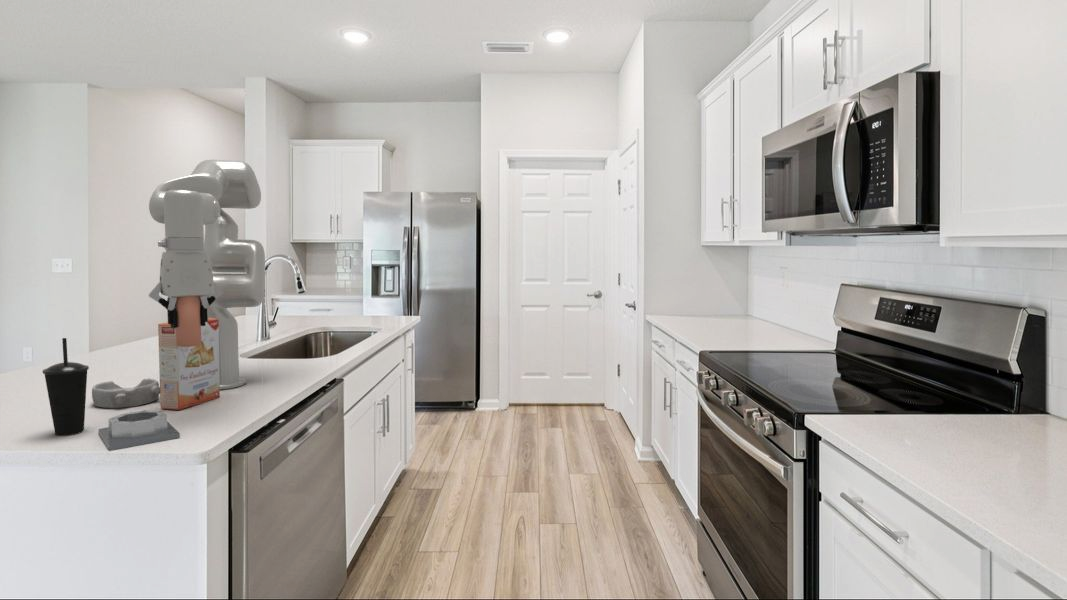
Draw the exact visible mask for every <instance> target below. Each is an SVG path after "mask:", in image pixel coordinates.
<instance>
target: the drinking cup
mask: <svg viewBox="0 0 1067 600" xmlns="http://www.w3.org/2000/svg"><path fill="white" fill-rule="evenodd" d="M61 340H62V357H63V362H58V363H56V364H53V365H51V366H48V367H47V368H44V369H43V370H42V374H43V375H44V379H45V383H46V390H47V396H48V400H49V407H50V412H51V418H52V423H53V430H54V434H55V436H57V437H58V436H60V437H62V436H63V437H64V436H65V437H66V436H71V435H72V434H73V435H77V434H80V433H83V432H84V431H85V421H86V420H85V419H86V418H85V417H86V399H87V396H86V395H87V384H88V383H87V380H88V370H89V369H90V367H89V365H86V364H82V363H79V362H74V361H68V344H67V341H68V340H67V337H62V339H61ZM83 430H84V431H83ZM82 431H83V432H82ZM79 432H80V433H79ZM76 433H77V434H76Z"/></svg>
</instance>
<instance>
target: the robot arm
mask: <svg viewBox="0 0 1067 600" xmlns="http://www.w3.org/2000/svg"><path fill="white" fill-rule="evenodd" d="M261 201H262V191H261V187H260V184H259V181H258V179H257V176H256V174H255V171H254V170H253V168H252V167H251V165H250V164H249V163H248V162H245V161H243V160H227V159H226V160H225V159H206V160H203V161H201V162H199V163H198V164H197V165H196V166H195V168H193V171H192V172H191V173H190V175H184V176H181V177H178V178H175V179H171V180H168V181H165V182H164V181H163V182H162V183H160V184H158V186H157V187H156V188H155V189H154V191H153V192H152V194H151V197H150V199H149V201H148V202H149V203H148V211H149V214H150V216H151V218H152V219H153V220H154V221H155V222H157V223H158V224H162V225H164V238H163V239H161V240H158V241H157V246H158V247H161V248H164V250H165V251H164V252H163V251H162V254H161V257H160V258H161V259H160V267H159V282H158V283H157V284H156V285H155V287H154V288H153V289H152V290H151V291H150V292H149V293H148V297H149V298H150V299H151V300H153V301H155V302H157V303H159V304H160V305H161V306H162V307H164V308H165V309H166V310H167V311H166V312H167V323H168V324H171V327H172V328H177V327H178V324H177V311H176V310H175V303H176V300H177V297H188V296H200V315H201V326H205V322H207V321H208V318H214V319H218V320H219V379H220V391H221V390H228V389H234V388H238V387H241V386H243V385H245V384H246V379H245V378H244V377H241V376H240V363H239V362H240V360H239V357H240V356H239V333H238V332H239V331H238V330H239V328H238V327H239V326H238V325H239V324H238V321H237V319H236V318H235V316H234V315H233V314H232V313H231V312H230V311H229V310H228V309H230V308H231V309H232V308H256V307H259V306H261V305H262V303H263V301H264V298H265V297H264V296H265V280H266V279H265V276H266V275H265V274H266V255H265V249H264V247H263V245H262V243H261V242H260V241H257V240H255V239H239V226H238V224H237V222H236V221H235V220H234V219H233V218H232V216H231V215H229V213H228V212H226V211H224V209H242V210H243V209H246V210H247V209H248V210H251V209H255V208H257V207H259V205H260V204H261ZM204 226H205V228H204ZM204 229H205V231H204ZM159 294H161V295H162V296H166V297H167V299H165V298H164V297H162V296H161V295H159Z"/></svg>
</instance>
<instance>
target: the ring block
mask: <svg viewBox="0 0 1067 600" xmlns="http://www.w3.org/2000/svg"><path fill="white" fill-rule="evenodd" d="M97 431H98V435H99V437H100V438H101V440H102V442H103V443H104V444H105V446H106V448H107V449H108V451H114V450H120V449H125V448H131V447H136V446H142V445H143V446H144V445H148V444H152V443H153V444H155V443H157V442H164V441H170V440H174V439H180V438H181V433H180V432H179V431H178V430H177V429H176V428H175V427H174V426H173V425H172V424H171V423H170V422H169V421H168V414H167V413H166V412H165V411H163V410H146V409H145V410H139V411H133V412H132V411H131V412H125V413H121V414H119V415H116V416H113V417H110V418H108V427H103V428H102V427H101V428H98V430H97Z"/></svg>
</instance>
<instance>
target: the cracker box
mask: <svg viewBox="0 0 1067 600" xmlns="http://www.w3.org/2000/svg"><path fill="white" fill-rule="evenodd" d="M157 325H158V327H157V328H158V330H157V332H158V361H159V362H158V363H159V364H158V365H159V367H158V368H159V387H160V394H159V403H160V409H164V410H174V411H181V410H184V409H188V408H190V407H193V406H196V405H199V404H202V403H205V402H209V401H212V400H215V399H218V398H221V397H220V395H221V393H220V391H221V390H220V379H219V320H218V319H214V318H208V321H207V322H205V326H201V342H202V344H201V345H199V346H191V347H178V346H176V328H172V327H171V324H168V322H163V323H162V322H161V323H158V324H157Z"/></svg>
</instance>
